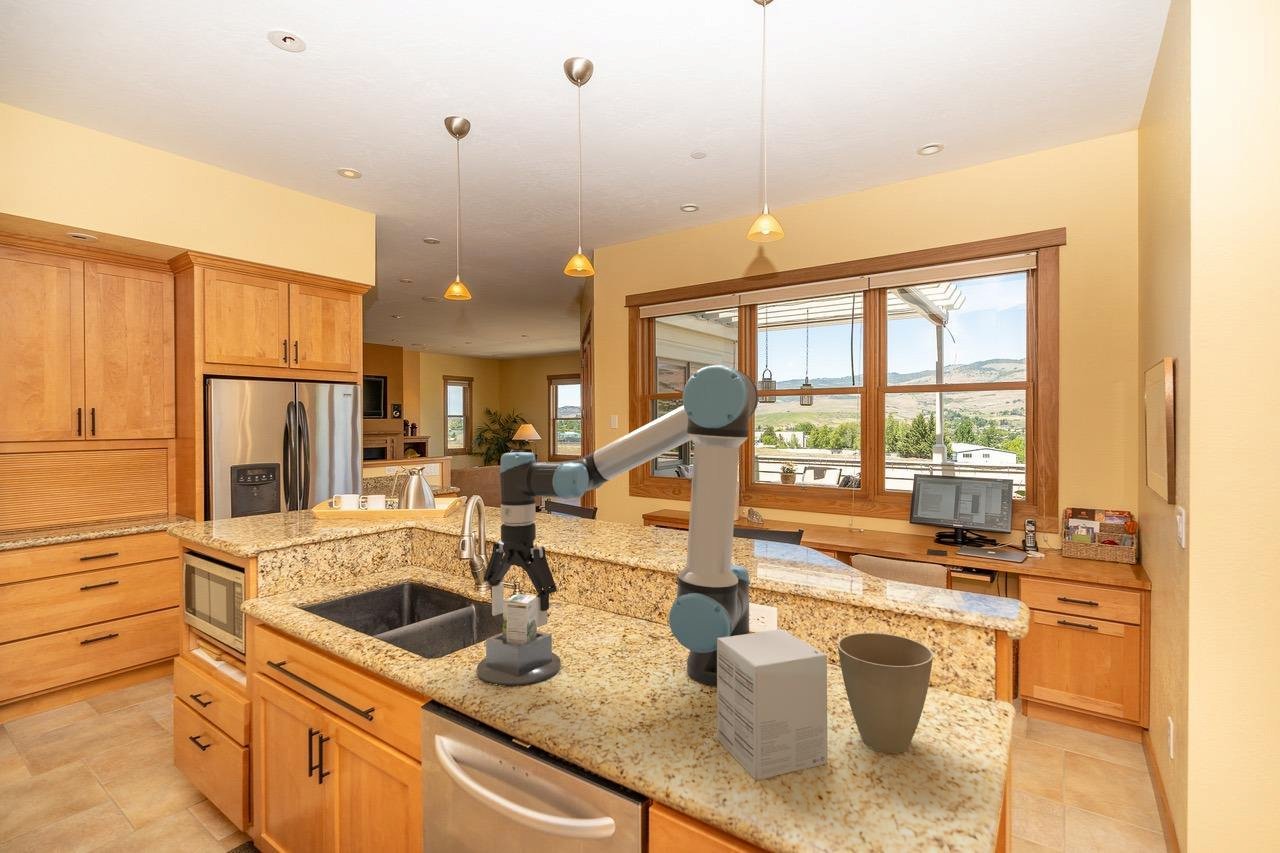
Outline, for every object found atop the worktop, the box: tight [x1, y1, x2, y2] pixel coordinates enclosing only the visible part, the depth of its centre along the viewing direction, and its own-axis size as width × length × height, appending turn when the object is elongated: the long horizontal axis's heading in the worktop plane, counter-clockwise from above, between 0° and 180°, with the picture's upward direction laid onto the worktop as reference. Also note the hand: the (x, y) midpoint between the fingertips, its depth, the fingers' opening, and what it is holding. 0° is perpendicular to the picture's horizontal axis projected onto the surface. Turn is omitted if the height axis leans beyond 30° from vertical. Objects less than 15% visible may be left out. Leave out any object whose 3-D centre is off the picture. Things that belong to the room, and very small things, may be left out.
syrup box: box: [502, 594, 538, 646], centre depth 134 cm, size 6×6×14 cm
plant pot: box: [837, 632, 934, 754], centre depth 102 cm, size 15×15×16 cm
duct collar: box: [476, 630, 562, 687], centre depth 134 cm, size 18×18×7 cm
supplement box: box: [716, 628, 829, 781], centre depth 100 cm, size 13×13×18 cm
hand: (519, 619), depth 134 cm, fingers open, 13 cm apart
